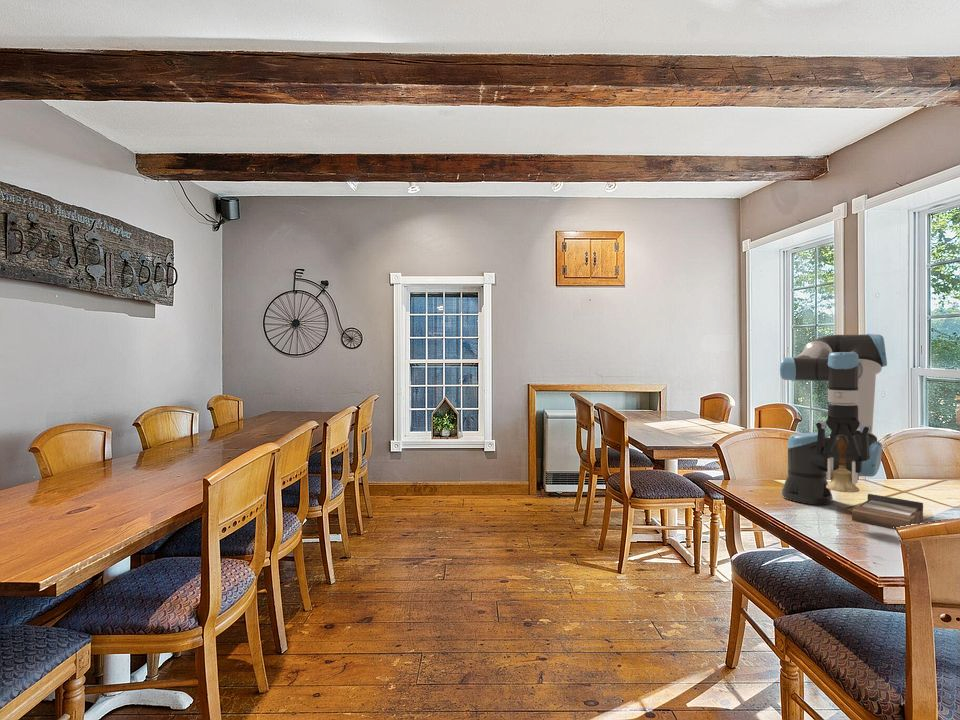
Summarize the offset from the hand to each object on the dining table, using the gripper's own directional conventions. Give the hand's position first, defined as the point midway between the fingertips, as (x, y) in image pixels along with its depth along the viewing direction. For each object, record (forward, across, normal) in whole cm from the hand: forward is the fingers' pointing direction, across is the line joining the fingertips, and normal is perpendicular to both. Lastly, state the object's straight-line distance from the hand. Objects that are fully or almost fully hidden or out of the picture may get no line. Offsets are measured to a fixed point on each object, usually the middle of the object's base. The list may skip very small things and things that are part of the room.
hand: (842, 481), depth 159 cm
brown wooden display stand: (+13, +8, +16) cm, 23 cm away
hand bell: (+3, 0, 0) cm, 3 cm away
